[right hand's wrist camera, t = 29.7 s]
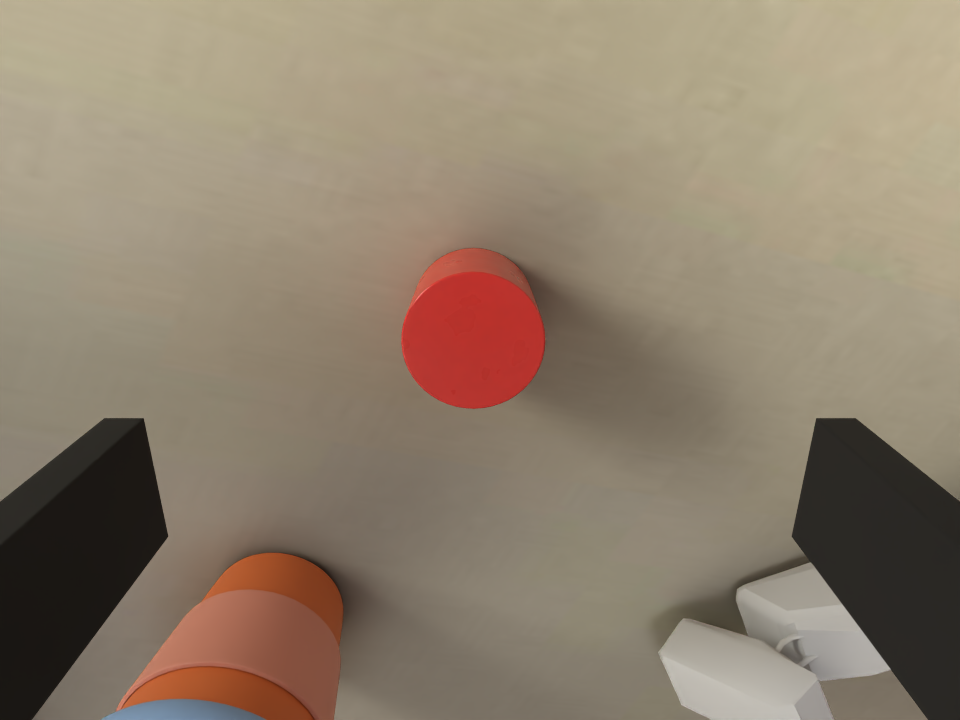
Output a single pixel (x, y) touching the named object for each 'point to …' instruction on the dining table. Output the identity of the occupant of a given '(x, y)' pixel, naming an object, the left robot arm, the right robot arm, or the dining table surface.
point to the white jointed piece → (770, 652)
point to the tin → (473, 330)
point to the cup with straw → (249, 649)
